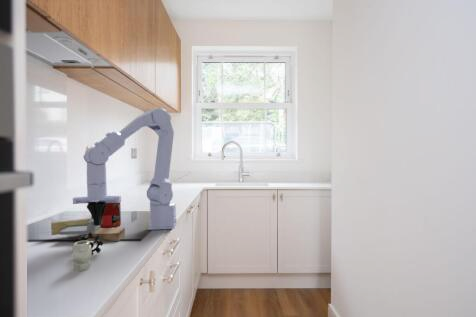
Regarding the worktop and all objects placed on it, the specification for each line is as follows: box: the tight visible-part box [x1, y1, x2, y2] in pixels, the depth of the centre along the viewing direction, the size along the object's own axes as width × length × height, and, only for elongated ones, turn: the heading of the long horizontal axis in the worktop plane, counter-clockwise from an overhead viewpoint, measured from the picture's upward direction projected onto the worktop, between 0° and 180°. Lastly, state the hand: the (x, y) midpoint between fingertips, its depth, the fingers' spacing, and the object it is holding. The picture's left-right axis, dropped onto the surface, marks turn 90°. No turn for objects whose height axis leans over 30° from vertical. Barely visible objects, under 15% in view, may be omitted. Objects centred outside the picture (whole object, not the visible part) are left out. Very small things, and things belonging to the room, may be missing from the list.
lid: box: [59, 219, 101, 236], centre depth 100 cm, size 10×7×4 cm, turn 95°
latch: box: [50, 215, 93, 236], centre depth 104 cm, size 2×14×5 cm, turn 116°
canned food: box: [100, 200, 122, 228], centre depth 118 cm, size 8×8×11 cm
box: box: [85, 227, 126, 243], centre depth 101 cm, size 10×7×3 cm
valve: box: [72, 232, 105, 272], centre depth 79 cm, size 7×7×12 cm
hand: (98, 225), depth 100 cm, fingers closed
